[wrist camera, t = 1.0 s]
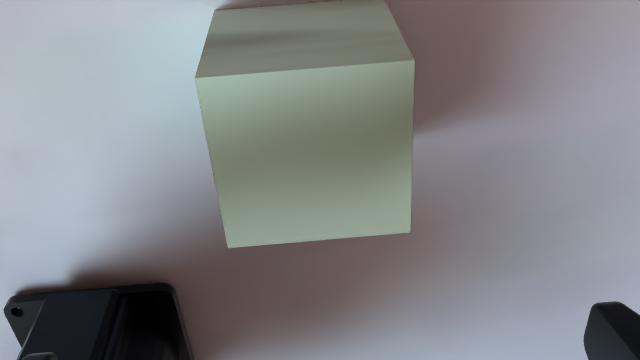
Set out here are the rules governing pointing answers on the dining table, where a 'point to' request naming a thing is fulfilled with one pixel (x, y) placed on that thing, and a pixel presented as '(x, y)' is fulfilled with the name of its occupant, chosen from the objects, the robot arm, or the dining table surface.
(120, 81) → the dining table surface
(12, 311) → the robot arm
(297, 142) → the sage block
